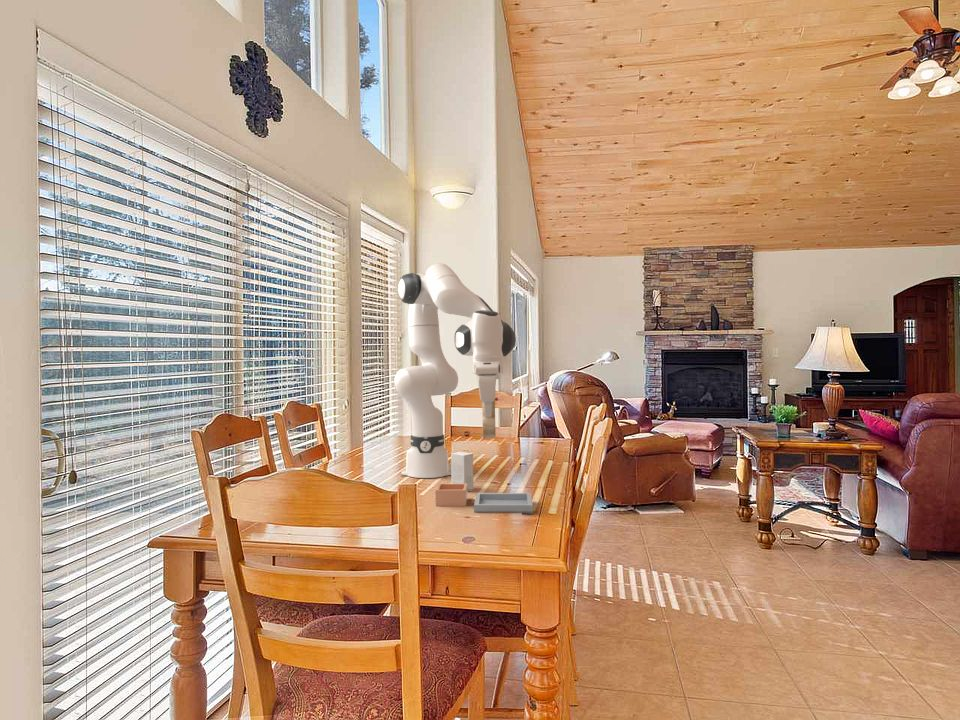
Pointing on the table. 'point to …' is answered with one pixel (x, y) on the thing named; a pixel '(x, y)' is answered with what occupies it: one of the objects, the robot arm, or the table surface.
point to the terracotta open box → (451, 495)
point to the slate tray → (503, 503)
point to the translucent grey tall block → (489, 423)
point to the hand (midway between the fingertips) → (488, 415)
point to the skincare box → (462, 469)
